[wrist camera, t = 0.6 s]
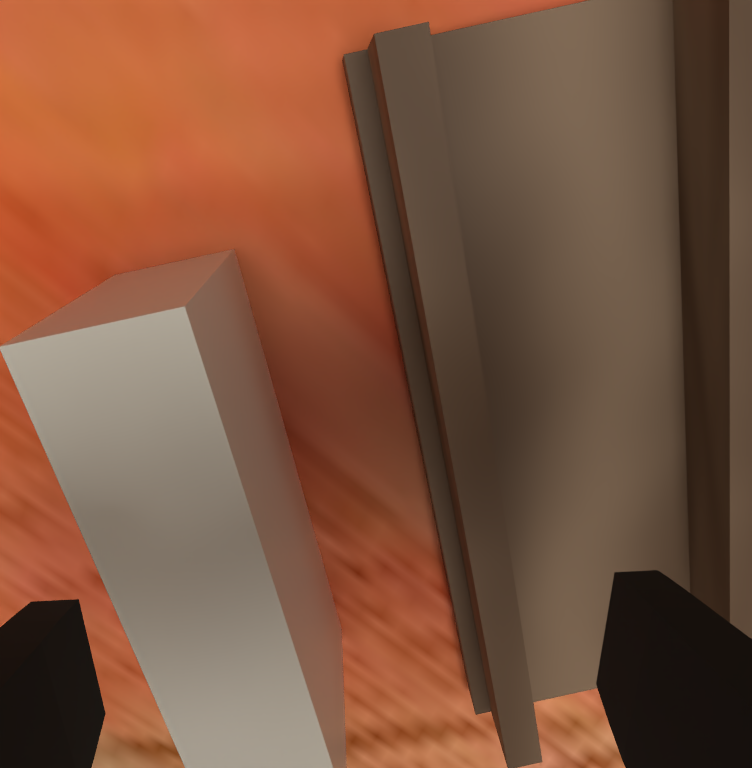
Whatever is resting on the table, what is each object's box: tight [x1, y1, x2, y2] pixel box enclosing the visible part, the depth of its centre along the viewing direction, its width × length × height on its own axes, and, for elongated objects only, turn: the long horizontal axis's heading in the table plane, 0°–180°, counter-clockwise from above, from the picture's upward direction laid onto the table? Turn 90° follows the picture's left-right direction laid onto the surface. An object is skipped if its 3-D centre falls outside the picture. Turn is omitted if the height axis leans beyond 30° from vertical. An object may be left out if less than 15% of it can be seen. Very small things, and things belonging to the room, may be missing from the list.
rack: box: [342, 0, 752, 768], centre depth 16 cm, size 15×19×3 cm
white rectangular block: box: [0, 249, 347, 768], centre depth 15 cm, size 3×12×6 cm, turn 12°
